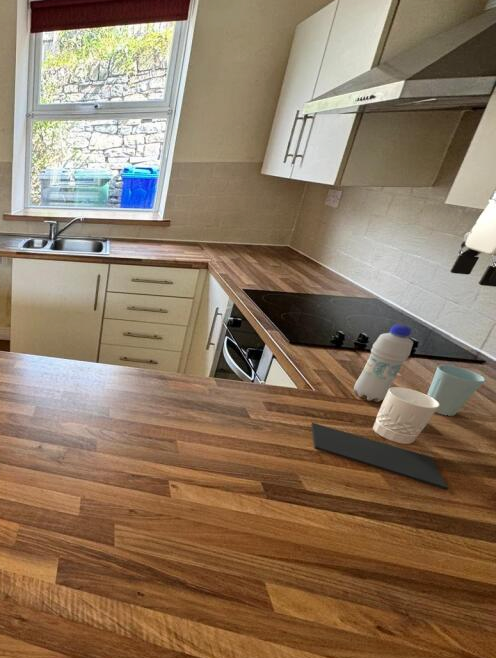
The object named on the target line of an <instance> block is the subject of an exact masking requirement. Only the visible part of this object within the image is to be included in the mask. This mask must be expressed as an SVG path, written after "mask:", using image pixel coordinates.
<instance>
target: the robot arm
mask: <svg viewBox="0 0 496 658" xmlns="http://www.w3.org/2000/svg"><path fill="white" fill-rule="evenodd" d="M487 202H488V204H487V205H486V207H485V208H484V209H483V211H482V212H481V214H480V215H479V217H478V218H477V220H476V221H475V223H474V225H473V227H472V228H471V230H470V231H468V232H465V233H464V235H463V239H462V243H461V244H460V248H461V249H459V251H458V256H457V258H456V260H455V261H454V264H453V265H452V267H451V269H450V271H449V272H450V273H451V274H458V275H470V274H471V273H472V271H473V269H474V268H475V266H476V264H477V263H478V260H479V259H480V257H479V255H481V254H485V255H488V256H491V265H488V266H487V268H485V271H484V273H483V274H482V276H481V278H480V280H479V281H478V285H480V286H482V287H483V286H485V287H493V288H496V187H495V188H494V190H493V192H492V194H491V195H490V197H489V199H488V201H487Z"/></svg>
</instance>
